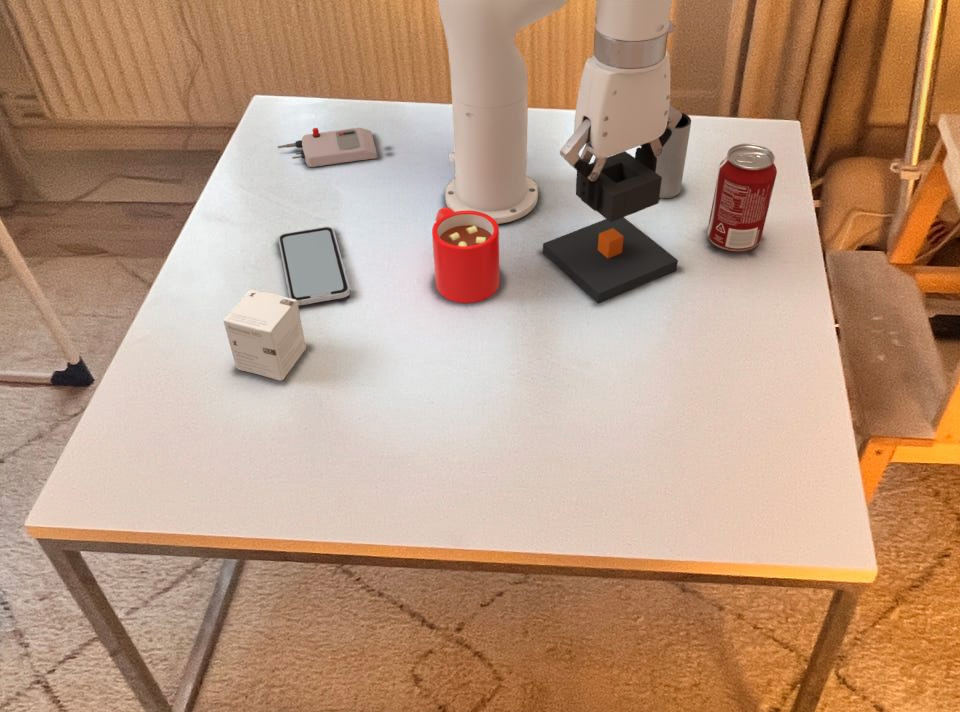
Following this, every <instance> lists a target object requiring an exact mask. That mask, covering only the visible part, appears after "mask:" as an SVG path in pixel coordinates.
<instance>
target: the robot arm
mask: <svg viewBox="0 0 960 712" xmlns="http://www.w3.org/2000/svg"><path fill="white" fill-rule="evenodd" d="M569 2H570V0H437V5H438V11H439V17H440V20H441V23H442V27H443V32H444V37H445V41H446V47H447V52H448V60H449V62H448V63H449V74H450V92H451V107H452V127H453V147H454V148H453V149H454V150H453V152H451V153H450V154H449V157H448V159H449V161H450V162H451V163H452V164H453V165H454V175H455V177H454V178H453V179H451V181H449V182H448V184H447V186H446V188H445V192H444V194H445V195H444V197H445V204H446V207H448V208H451V209H452V210H453V211H455V212H456V211H465V210H470V211H477V212H482V213H484V214H487V215H489V216H491V217H492V218H493V219H494V220H495V221H496V222H497V224H498V225H499V224H507V223H509V222H510V223H511V222H513V221H516V220H520V219H521V218H524V217H525V216H527V215H528V214H529V213H531V212H532V210H533V209H534V208H535V207H536V205H537V204H538V199H539V189H538V186H537V184H536V183H535V181H534V179H532V178H531V177H530V176H528V175H527V174H528V118H529V117H528V116H529V115H528V114H529V113H528V112H529V75H528V74H529V73H528V65H527V63H526V60H525V57H524V55H523V54H522V52H521V51H520V50H519V48H518V46H517V42H516V35H517V33H518V32H520V31H522V30H523V29H526V28H527V27H528V26H530V25H533V24H535V23H537V22H539V21H541V20H543V19H545V18H547V17H549V16H551V15H553V14H554V13H557V12H559V11H560V10H561V9H563V8H564V7H565V6H566V5H567V4H568V3H569ZM672 4H673V0H595V17H594V33H593V35H594V36H593V48H592V49H593V50H592V51H593V52H592V56H589V57H588V58H586V60H585V64H584V67H583V69H582V74H581V78H580V82H579V88H578V92H577V98H576V106H575V114H574V127H573V134H572V135H571V136H570V137H569V139H568V140H567V141H565V144H563V146H562V147H561V148H560V150H559V156H561V157H562V159H564V160H565V161H566V162H567V163H568V164H569V165H570V167H573V168H574V170H576V172H577V171H579V172H580V173H581V180H580V198H579V199H580V200H581V202H583V203H584V204H586V205H587V206H588V207H589V208H591V209H592V210H593V211H595V212H597V211H596V210H599V209H600V205H601V192H602V183H603V181H602V179H601V178H600V177H599V174H600V172H601V170H602V168H603V166H604V164H605V162H606V159H607V157H610V156H613V155H616V154H618V153H621V152H624V151H626V152H627V151H628V150H632V149H634V148H636V149H635V154H634V158H635V159H637V160H638V161H640V162H641V163H642V164H644V165H645V166H647V167H648V168H650V169H651V170H652V171H654V172H656V164H657V157H660V156H661V155H662V153H663V148H662V147H663V146H664V145H665V143H666V142H667V141H668V139H669V138H670V137H671V135H672V130H674V128H675V127H676V125H677V124H678V122H679V121H680V119H681V117H682V113H683V112H682V111H679V109H677V108H675V107H674V106H672V105H671V81H672V80H671V64H670V63H671V61H670V54H669V51H668V50H667V46H668V45H667V43H668V36H669V35H671V34H673V32H674V30H675V26H674V23H673V21H672V20H671V11H672ZM681 112H682V113H681ZM583 147H584V148H583ZM582 149H583V150H582ZM581 150H582V152H581V155H579V154H580V151H581ZM593 156H594V157H595V158H594V160H593V162H592V163H593V164H592V166H590V165H589V164H591V163H590V162H591V160H592V158H593Z"/></svg>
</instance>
